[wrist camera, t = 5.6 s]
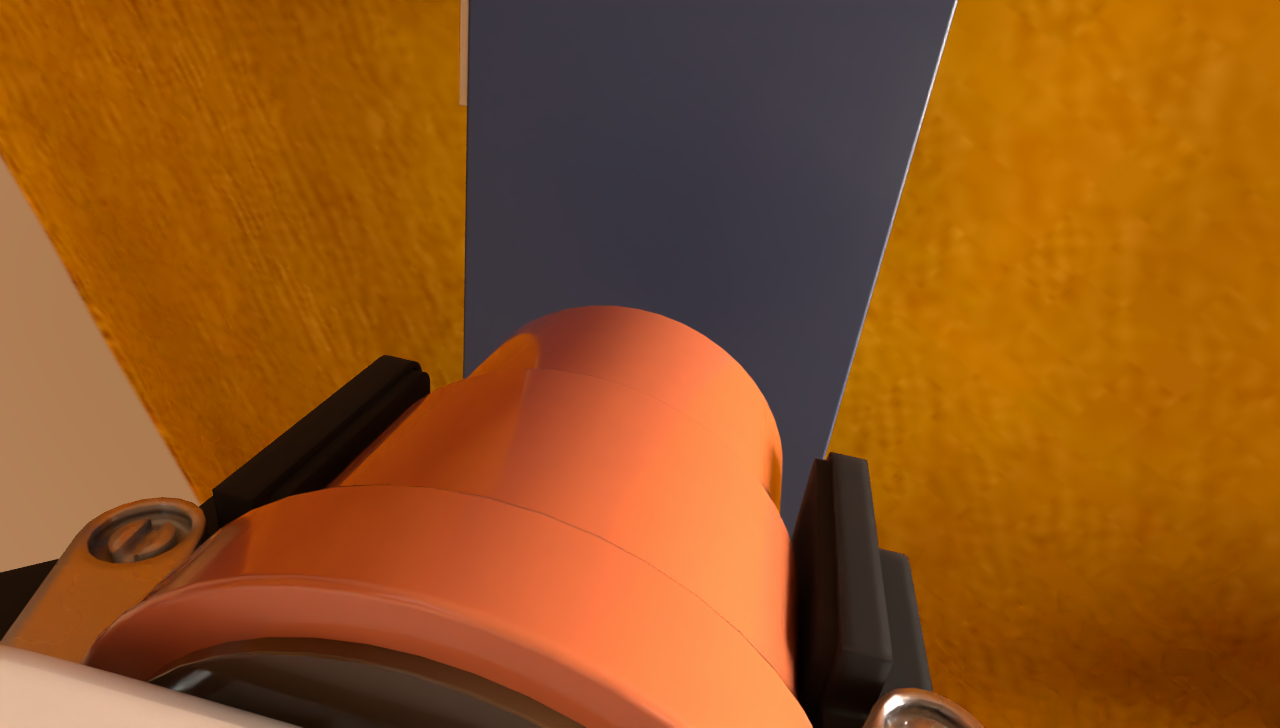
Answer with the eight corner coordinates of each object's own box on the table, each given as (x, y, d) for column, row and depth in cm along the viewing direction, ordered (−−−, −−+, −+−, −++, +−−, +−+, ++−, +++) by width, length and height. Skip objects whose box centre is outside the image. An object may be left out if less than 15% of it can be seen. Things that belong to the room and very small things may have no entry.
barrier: (967, -199, 17) (1044, -292, 12) (764, 562, 28) (757, 689, 23) (557, -242, 18) (461, -344, 13) (514, 505, 29) (452, 614, 24)
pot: (878, 309, 11) (986, 773, 4) (777, 648, 14) (748, 1214, 7) (430, 223, 11) (-65, 490, 5) (432, 560, 15) (131, 992, 8)
